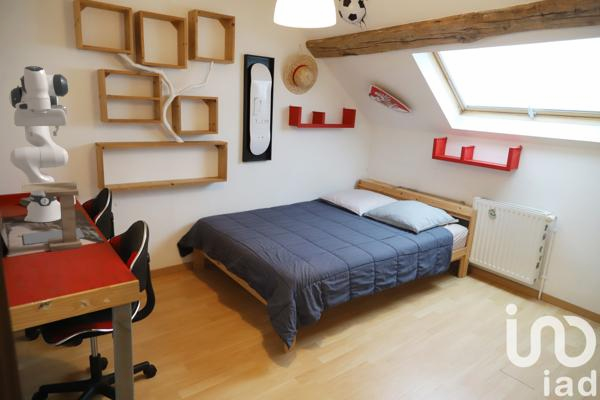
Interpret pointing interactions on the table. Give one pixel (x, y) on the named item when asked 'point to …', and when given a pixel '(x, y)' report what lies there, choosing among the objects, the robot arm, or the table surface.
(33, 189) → the ash bar
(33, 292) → the table surface
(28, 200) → the marble piece
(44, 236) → the rubber mat
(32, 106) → the robot arm
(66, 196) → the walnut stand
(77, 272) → the table surface
